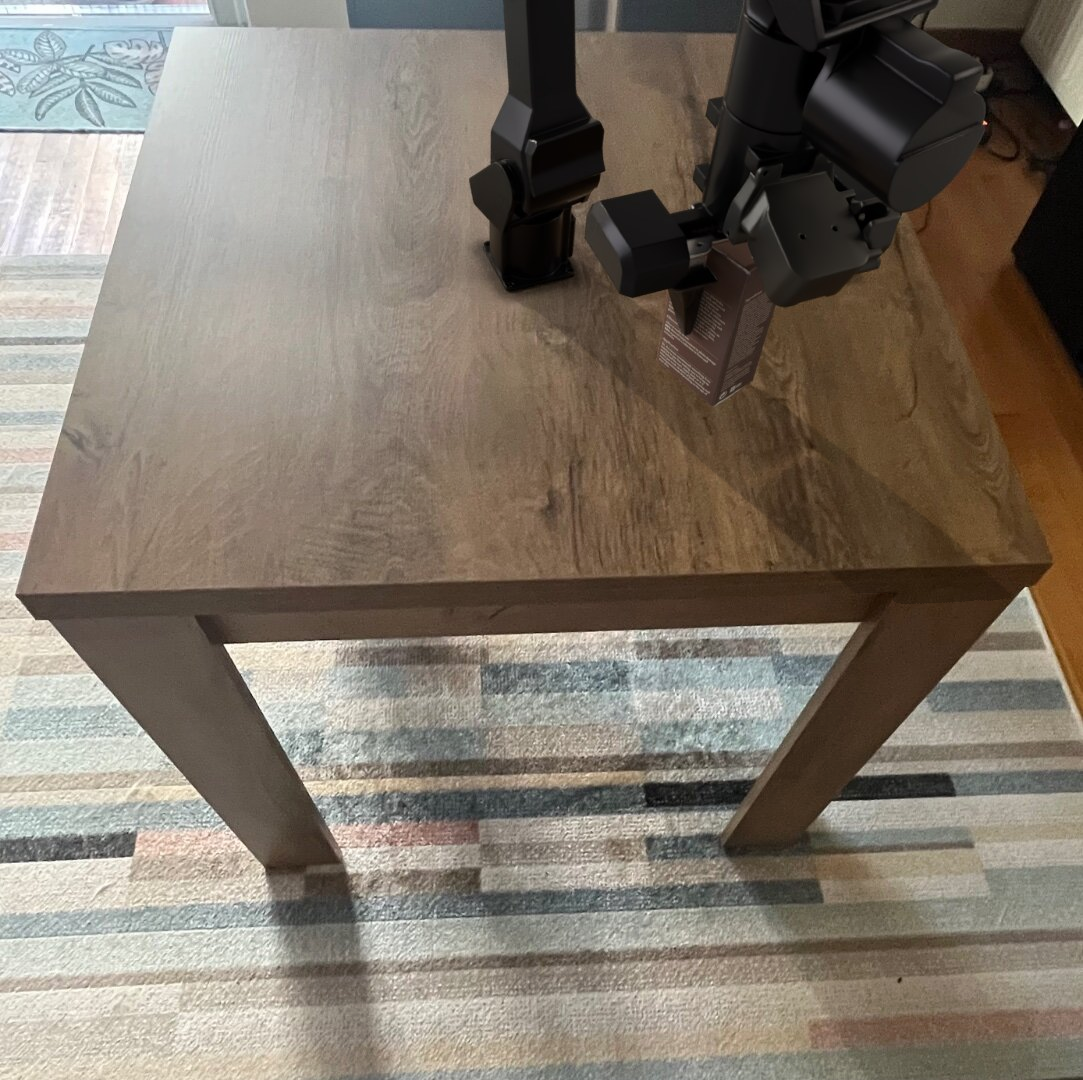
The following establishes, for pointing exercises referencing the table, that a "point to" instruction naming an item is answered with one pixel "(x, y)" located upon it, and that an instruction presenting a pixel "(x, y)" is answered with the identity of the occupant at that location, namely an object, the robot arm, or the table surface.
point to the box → (720, 328)
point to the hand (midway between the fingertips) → (719, 321)
